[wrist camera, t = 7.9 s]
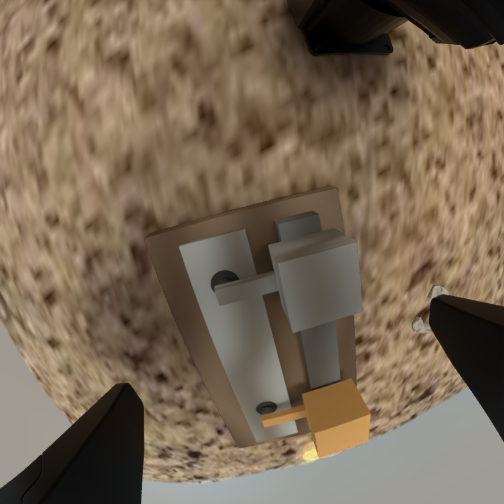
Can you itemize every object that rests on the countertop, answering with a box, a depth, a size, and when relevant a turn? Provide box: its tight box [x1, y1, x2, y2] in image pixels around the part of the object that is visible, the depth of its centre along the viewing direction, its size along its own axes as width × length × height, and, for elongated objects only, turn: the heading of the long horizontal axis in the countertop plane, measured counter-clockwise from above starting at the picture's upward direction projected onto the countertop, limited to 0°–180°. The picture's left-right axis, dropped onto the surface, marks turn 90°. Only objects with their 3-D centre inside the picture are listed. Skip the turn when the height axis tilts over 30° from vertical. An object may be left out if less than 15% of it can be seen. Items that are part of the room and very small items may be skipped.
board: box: [144, 186, 363, 448], centre depth 19 cm, size 12×22×5 cm, turn 14°
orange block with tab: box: [261, 378, 371, 458], centre depth 19 cm, size 8×4×5 cm, turn 104°
